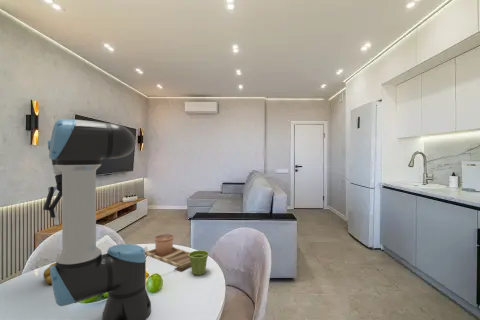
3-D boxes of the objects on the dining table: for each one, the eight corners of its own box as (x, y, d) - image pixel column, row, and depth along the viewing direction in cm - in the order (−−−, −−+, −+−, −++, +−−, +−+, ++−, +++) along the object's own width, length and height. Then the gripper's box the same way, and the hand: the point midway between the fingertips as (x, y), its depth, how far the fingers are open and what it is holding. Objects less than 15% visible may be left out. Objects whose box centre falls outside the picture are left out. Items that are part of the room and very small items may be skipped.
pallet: (202, 261, 129) (202, 256, 129) (180, 271, 118) (180, 266, 118) (166, 249, 147) (166, 244, 147) (144, 256, 136) (144, 252, 136)
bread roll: (58, 286, 105) (58, 267, 105) (34, 286, 105) (34, 267, 105) (76, 272, 118) (76, 255, 118) (55, 272, 117) (55, 255, 117)
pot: (177, 252, 138) (177, 236, 138) (162, 258, 130) (161, 241, 130) (166, 248, 144) (166, 233, 144) (150, 254, 136) (150, 237, 136)
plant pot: (186, 270, 120) (186, 252, 120) (205, 266, 124) (205, 249, 124) (191, 278, 111) (191, 259, 111) (211, 274, 115) (211, 255, 115)
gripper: (90, 169, 125) (99, 211, 126) (27, 179, 105) (38, 229, 105) (97, 167, 121) (106, 210, 121) (33, 177, 100) (44, 229, 101)
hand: (74, 219), depth 113 cm, fingers open, 13 cm apart
